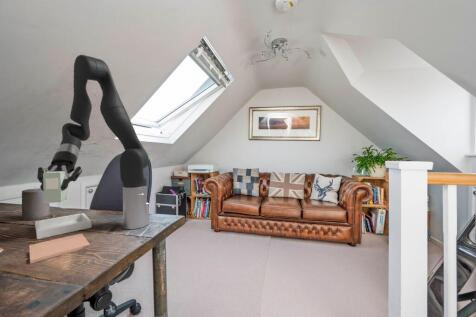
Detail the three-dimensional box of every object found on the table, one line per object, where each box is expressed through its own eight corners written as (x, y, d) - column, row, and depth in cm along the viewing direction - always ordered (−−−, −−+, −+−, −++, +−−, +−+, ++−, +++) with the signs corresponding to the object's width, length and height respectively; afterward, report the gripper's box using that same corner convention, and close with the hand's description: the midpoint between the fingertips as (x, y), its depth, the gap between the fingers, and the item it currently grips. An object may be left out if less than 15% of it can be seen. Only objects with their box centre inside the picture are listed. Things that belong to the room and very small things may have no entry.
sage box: (50, 200, 78) (50, 171, 78) (66, 199, 80) (66, 171, 80) (43, 203, 73) (42, 172, 73) (60, 202, 75) (60, 172, 75)
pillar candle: (15, 221, 93) (15, 189, 93) (32, 215, 103) (32, 185, 102) (40, 220, 95) (40, 188, 95) (54, 214, 105) (54, 185, 104)
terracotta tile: (81, 235, 77) (81, 233, 77) (90, 246, 68) (90, 244, 68) (29, 247, 67) (29, 245, 67) (30, 263, 58) (30, 260, 58)
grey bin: (83, 220, 95) (83, 212, 95) (91, 229, 84) (91, 220, 84) (35, 229, 83) (35, 221, 83) (37, 241, 72) (36, 231, 72)
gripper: (41, 150, 80) (22, 184, 70) (84, 150, 86) (73, 182, 75) (48, 163, 86) (32, 197, 75) (88, 162, 91) (79, 194, 80)
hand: (53, 189), depth 75 cm, fingers closed on sage box, 5 cm apart
